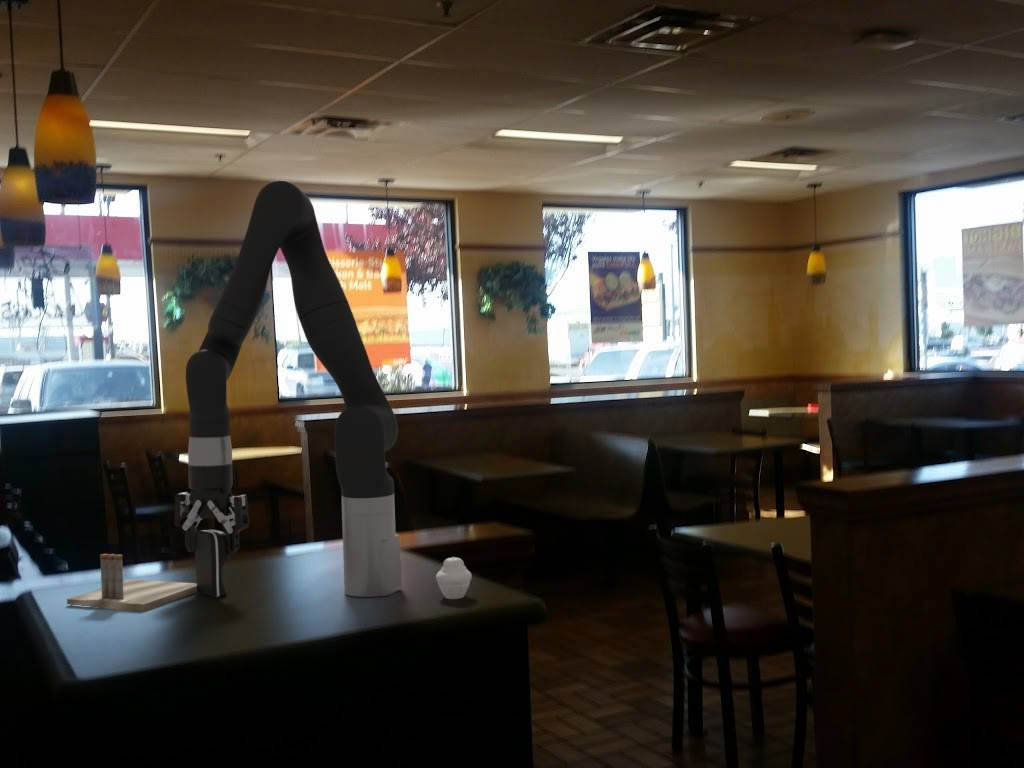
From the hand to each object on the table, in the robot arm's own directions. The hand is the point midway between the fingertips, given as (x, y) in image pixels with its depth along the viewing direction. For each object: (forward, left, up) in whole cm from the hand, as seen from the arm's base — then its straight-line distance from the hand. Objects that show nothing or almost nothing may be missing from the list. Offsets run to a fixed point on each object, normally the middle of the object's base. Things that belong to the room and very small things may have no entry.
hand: (212, 552), depth 186 cm
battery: (0, 0, -8) cm, 8 cm away
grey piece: (-43, -8, -8) cm, 45 cm away
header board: (+12, +6, -7) cm, 15 cm away
